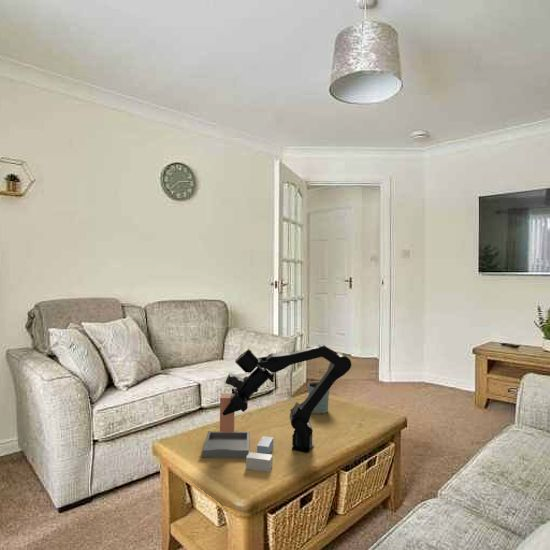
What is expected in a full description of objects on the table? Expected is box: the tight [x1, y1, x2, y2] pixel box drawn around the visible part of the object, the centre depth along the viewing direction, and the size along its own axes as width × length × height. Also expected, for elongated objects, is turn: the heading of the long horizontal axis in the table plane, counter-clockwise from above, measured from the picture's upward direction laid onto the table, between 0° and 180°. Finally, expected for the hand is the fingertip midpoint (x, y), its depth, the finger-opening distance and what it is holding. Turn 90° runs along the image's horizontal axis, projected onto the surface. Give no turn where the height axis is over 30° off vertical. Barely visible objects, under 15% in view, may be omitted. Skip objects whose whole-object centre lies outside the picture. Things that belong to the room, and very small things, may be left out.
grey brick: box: [245, 451, 274, 473], centre depth 133 cm, size 8×4×4 cm, turn 78°
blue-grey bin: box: [307, 381, 330, 414], centre depth 188 cm, size 10×10×12 cm
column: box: [219, 393, 236, 433], centre depth 147 cm, size 5×5×12 cm
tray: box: [201, 430, 251, 459], centre depth 148 cm, size 16×16×3 cm
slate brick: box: [256, 436, 275, 454], centre depth 145 cm, size 8×4×4 cm, turn 167°
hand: (223, 411), depth 146 cm, fingers closed on column, 5 cm apart
